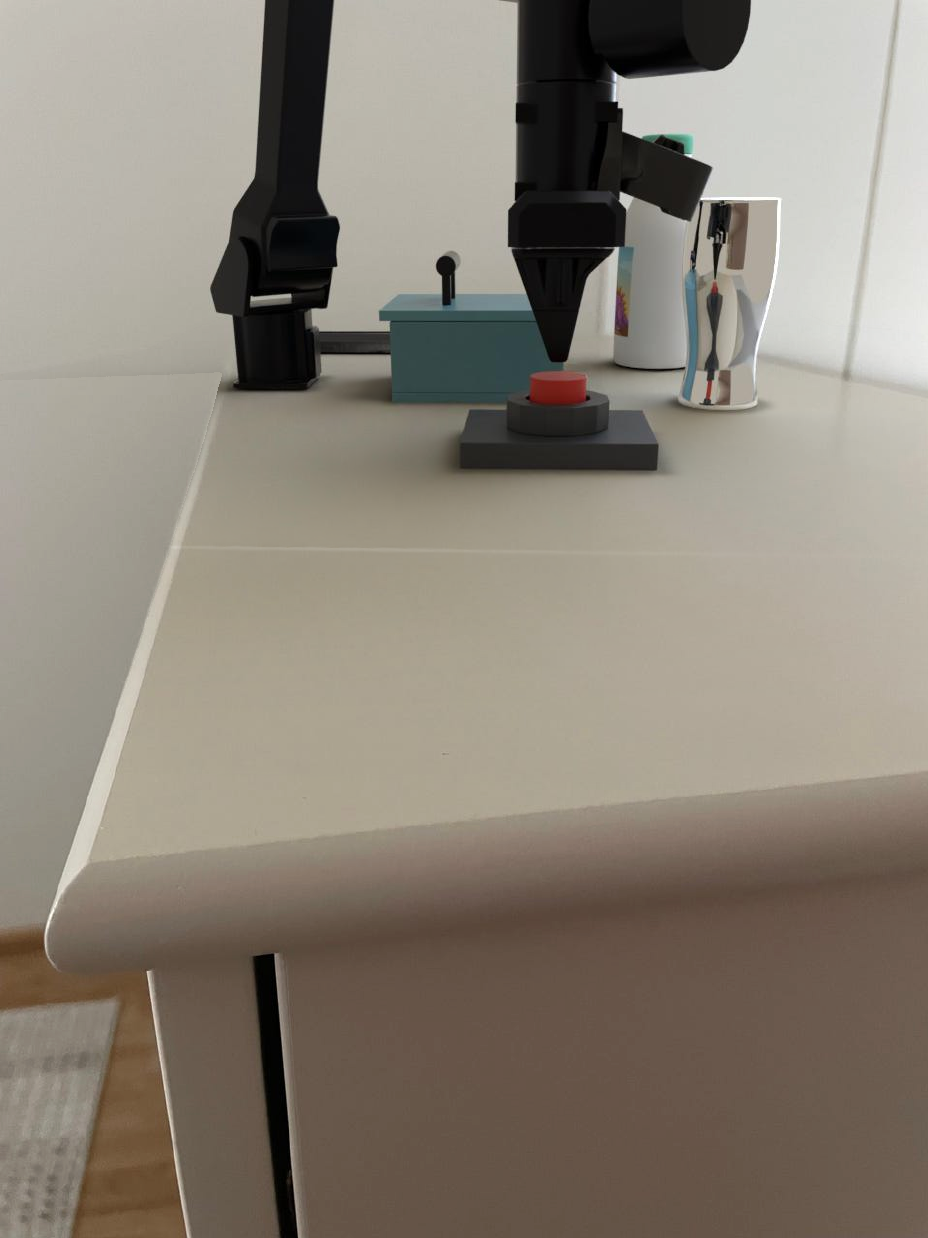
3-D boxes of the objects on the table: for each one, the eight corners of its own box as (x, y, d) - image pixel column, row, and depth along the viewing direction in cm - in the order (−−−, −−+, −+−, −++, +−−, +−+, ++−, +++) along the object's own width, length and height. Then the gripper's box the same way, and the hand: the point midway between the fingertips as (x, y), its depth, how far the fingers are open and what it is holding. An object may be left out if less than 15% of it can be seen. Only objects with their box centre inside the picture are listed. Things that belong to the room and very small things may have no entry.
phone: (296, 331, 114) (432, 330, 113) (297, 341, 114) (432, 341, 114) (280, 341, 107) (425, 341, 106) (281, 352, 107) (426, 352, 106)
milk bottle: (706, 361, 100) (724, 134, 93) (676, 373, 94) (693, 131, 87) (632, 355, 104) (644, 136, 97) (599, 366, 98) (609, 134, 91)
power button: (529, 408, 65) (530, 380, 64) (529, 397, 68) (530, 370, 68) (587, 409, 65) (588, 380, 64) (584, 397, 68) (585, 370, 67)
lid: (379, 320, 81) (376, 258, 79) (398, 303, 92) (396, 248, 90) (564, 320, 80) (566, 257, 78) (560, 303, 91) (562, 247, 90)
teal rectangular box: (392, 402, 83) (389, 321, 81) (409, 375, 95) (407, 303, 92) (562, 403, 82) (564, 321, 80) (558, 375, 94) (560, 303, 91)
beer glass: (765, 413, 78) (788, 198, 72) (671, 410, 79) (686, 199, 73) (760, 396, 84) (780, 197, 78) (673, 393, 86) (686, 197, 80)
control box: (460, 469, 64) (459, 412, 62) (469, 433, 73) (468, 383, 71) (657, 471, 63) (660, 414, 62) (641, 434, 72) (644, 383, 71)
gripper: (737, 67, 50) (709, 389, 57) (685, 95, 68) (669, 340, 74) (508, 70, 51) (506, 388, 57) (515, 97, 68) (512, 340, 74)
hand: (558, 361), depth 66 cm, fingers closed
